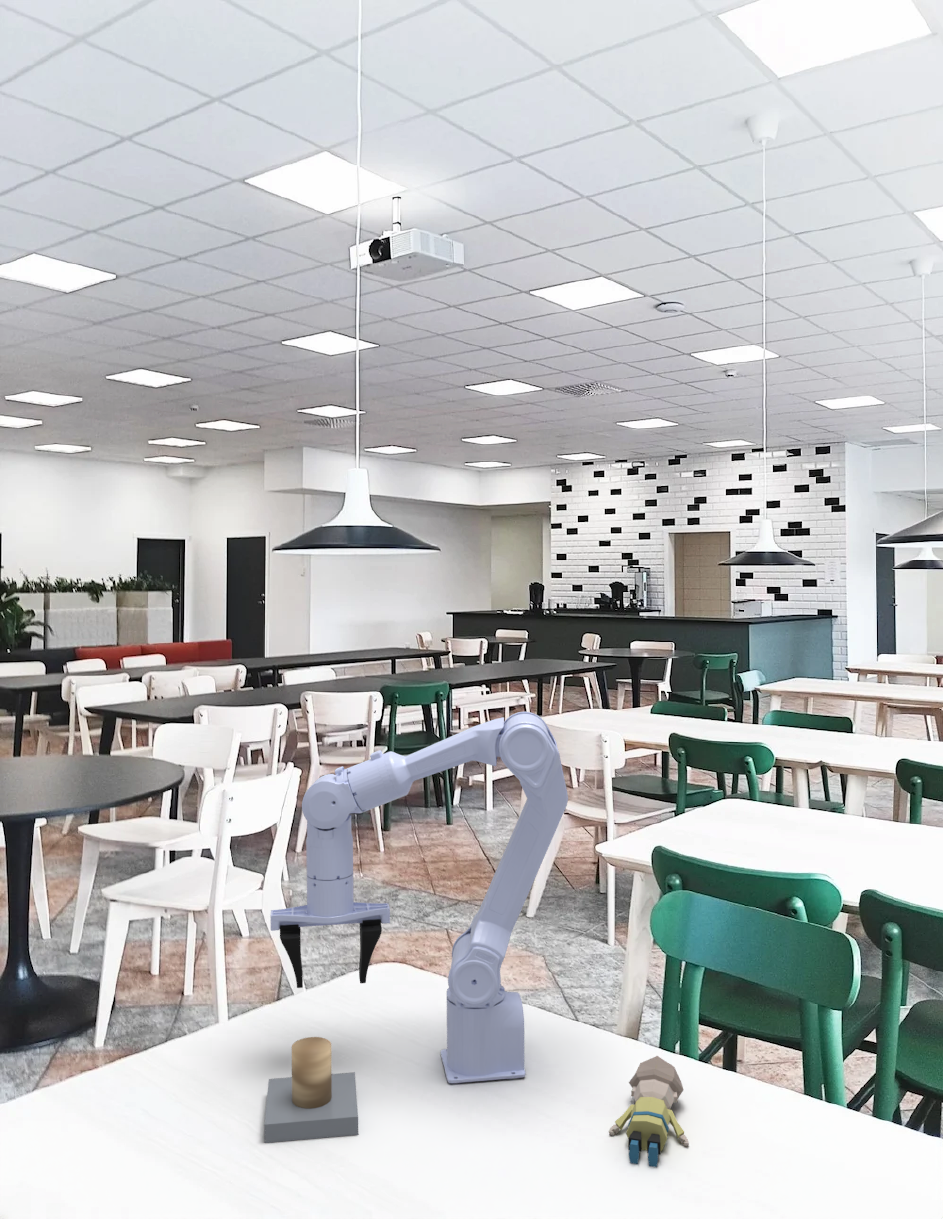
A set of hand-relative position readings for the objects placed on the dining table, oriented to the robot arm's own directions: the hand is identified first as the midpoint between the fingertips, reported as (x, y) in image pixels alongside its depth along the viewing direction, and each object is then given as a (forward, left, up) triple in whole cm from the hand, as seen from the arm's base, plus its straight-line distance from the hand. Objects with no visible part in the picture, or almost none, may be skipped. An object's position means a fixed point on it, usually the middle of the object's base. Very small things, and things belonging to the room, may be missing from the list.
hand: (331, 982), depth 126 cm
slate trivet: (+2, +11, -10) cm, 16 cm away
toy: (-34, +20, -11) cm, 41 cm away
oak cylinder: (+2, +12, -8) cm, 15 cm away
